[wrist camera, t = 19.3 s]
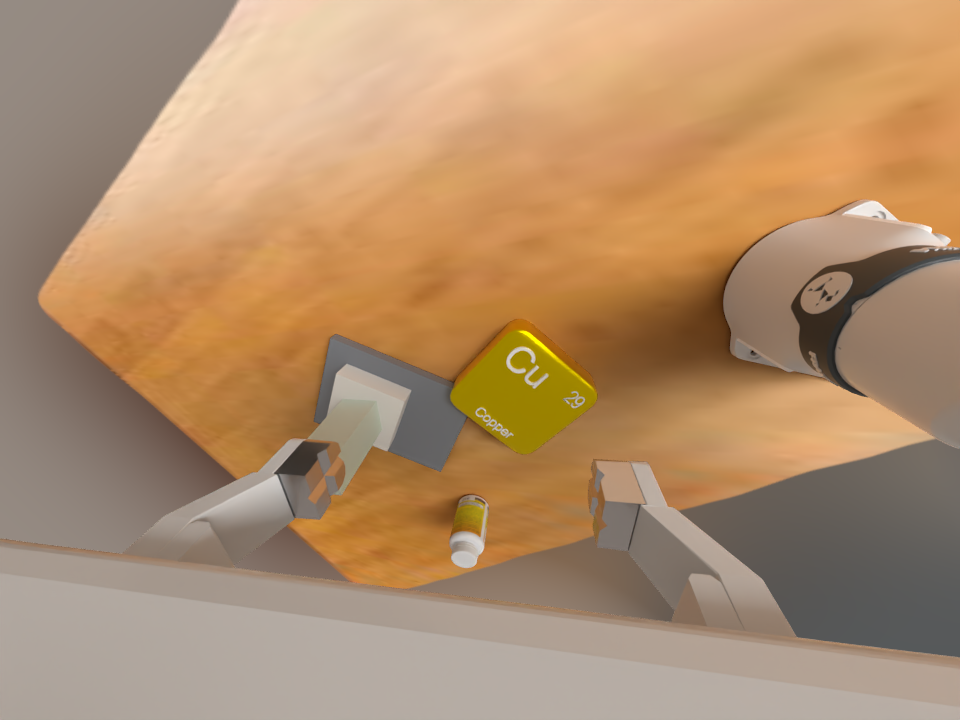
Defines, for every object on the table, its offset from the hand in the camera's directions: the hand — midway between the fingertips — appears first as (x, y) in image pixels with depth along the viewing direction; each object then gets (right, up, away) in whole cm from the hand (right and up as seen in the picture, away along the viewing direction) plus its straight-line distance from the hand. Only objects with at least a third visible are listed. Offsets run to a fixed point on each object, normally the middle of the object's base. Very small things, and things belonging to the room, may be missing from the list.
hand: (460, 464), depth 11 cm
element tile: (+7, 0, +38) cm, 39 cm away
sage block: (-16, -4, +38) cm, 42 cm away
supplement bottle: (0, -22, +50) cm, 55 cm away
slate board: (-13, -4, +42) cm, 44 cm away
